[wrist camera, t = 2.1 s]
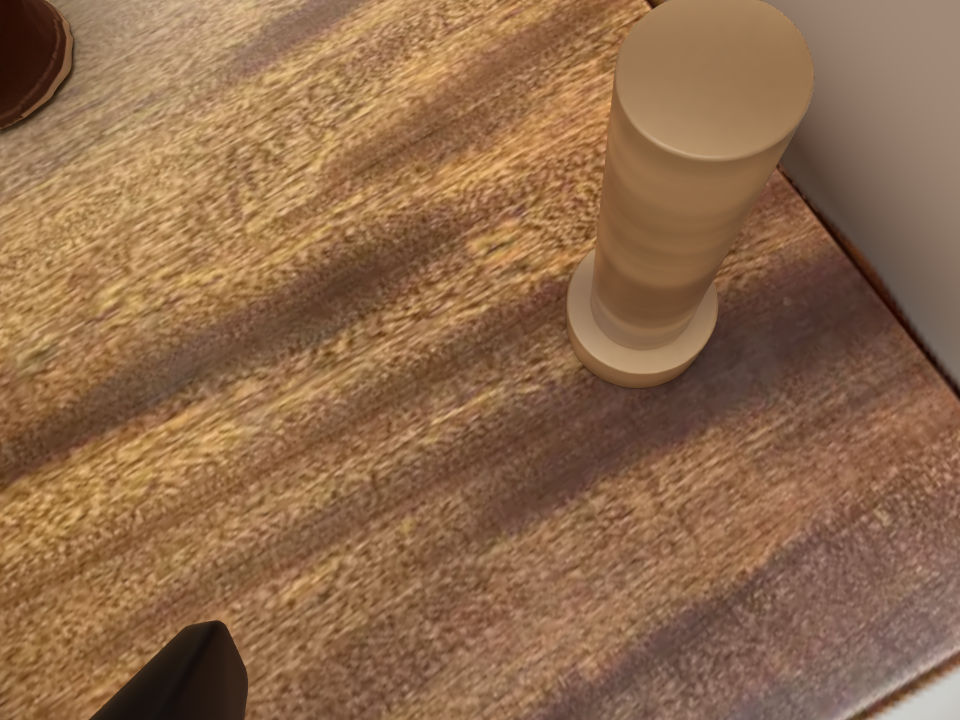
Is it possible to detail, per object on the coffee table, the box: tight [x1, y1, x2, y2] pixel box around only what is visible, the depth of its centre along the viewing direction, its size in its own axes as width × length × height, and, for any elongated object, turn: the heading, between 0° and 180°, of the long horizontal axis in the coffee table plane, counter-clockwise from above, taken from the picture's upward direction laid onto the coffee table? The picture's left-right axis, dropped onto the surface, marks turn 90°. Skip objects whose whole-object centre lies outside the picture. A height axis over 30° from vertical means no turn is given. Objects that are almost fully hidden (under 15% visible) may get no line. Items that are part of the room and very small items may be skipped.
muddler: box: [566, 0, 814, 388], centre depth 18 cm, size 4×4×13 cm
